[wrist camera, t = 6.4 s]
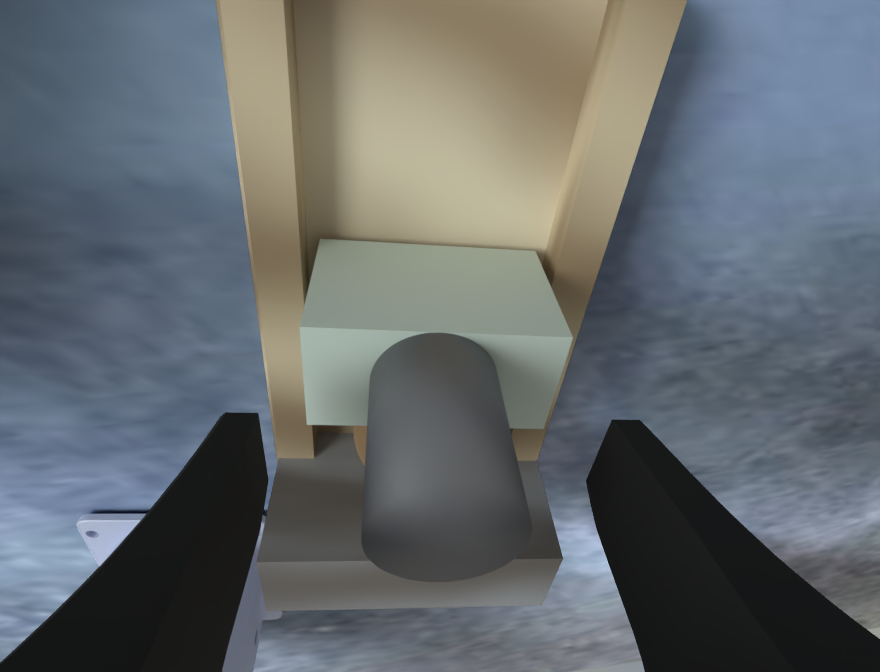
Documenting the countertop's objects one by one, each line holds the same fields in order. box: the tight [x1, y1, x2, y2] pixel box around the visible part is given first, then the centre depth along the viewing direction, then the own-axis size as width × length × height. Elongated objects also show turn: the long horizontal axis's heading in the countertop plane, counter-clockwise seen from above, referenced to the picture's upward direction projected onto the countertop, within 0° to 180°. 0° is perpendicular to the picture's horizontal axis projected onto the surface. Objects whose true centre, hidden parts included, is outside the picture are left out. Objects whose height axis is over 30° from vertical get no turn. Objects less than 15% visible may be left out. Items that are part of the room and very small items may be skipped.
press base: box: [216, 0, 687, 611], centre depth 15 cm, size 18×10×6 cm, turn 174°
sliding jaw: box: [299, 239, 573, 582], centre depth 12 cm, size 3×6×8 cm, turn 84°
